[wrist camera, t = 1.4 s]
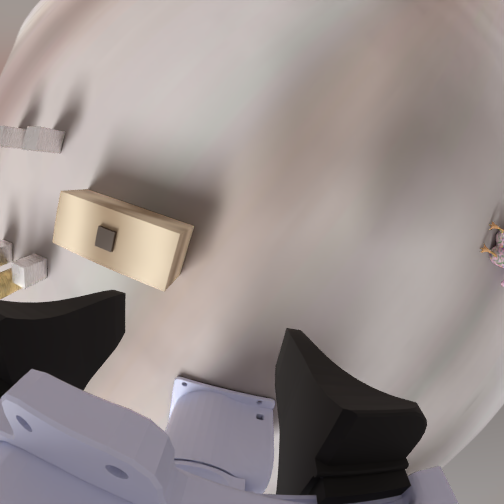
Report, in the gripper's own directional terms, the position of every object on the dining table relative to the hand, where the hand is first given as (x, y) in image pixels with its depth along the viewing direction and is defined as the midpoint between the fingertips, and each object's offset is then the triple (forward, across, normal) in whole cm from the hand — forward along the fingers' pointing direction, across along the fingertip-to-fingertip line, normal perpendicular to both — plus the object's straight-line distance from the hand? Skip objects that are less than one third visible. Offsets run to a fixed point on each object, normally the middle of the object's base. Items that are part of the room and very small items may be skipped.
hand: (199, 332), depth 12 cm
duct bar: (+10, +8, -1) cm, 13 cm away
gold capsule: (+10, +22, +6) cm, 25 cm away
